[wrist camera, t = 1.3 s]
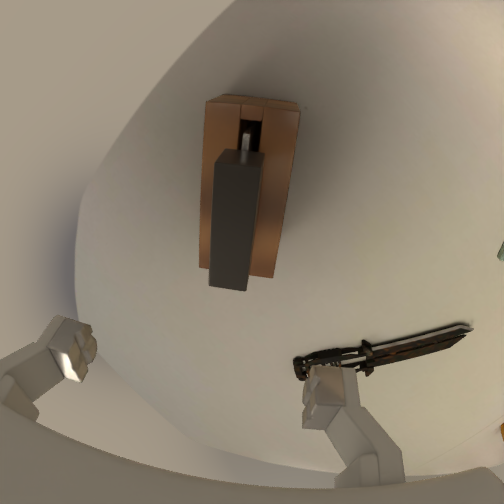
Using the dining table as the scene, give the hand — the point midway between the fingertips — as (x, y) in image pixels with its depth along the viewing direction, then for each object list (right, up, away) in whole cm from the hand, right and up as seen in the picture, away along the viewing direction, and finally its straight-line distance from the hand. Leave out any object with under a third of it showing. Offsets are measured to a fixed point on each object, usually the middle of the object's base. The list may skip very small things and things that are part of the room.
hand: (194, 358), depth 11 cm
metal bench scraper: (+2, +10, +15) cm, 19 cm away
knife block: (+2, +11, +16) cm, 20 cm away
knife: (+20, -9, +27) cm, 34 cm away
